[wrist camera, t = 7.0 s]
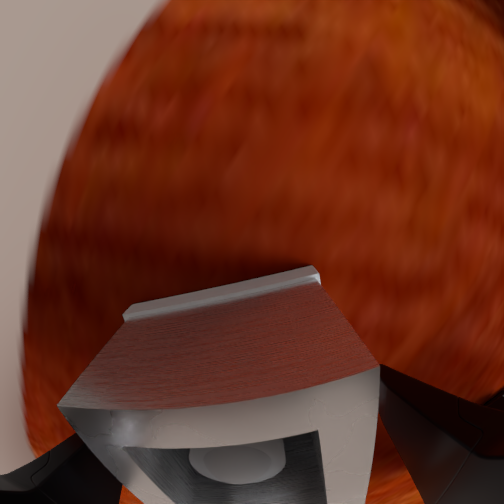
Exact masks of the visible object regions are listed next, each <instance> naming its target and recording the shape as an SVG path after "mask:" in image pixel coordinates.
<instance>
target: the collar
mask: <svg viewBox="0 0 504 504" xmlns="http://www.w3.org/2000/svg"><path fill="white" fill-rule="evenodd" d="M379 384H380V365H379V364H378V362H377V361H376V360H375V358H374V357H373V355H372V354H371V353H370V351H369V350H368V348H367V347H366V346H365V344H364V343H363V341H362V340H361V339H360V337H359V336H358V335H357V333H356V332H355V330H354V329H353V328H352V326H351V325H350V324H349V322H348V321H347V319H346V318H345V317H344V315H343V314H342V313H341V311H340V310H339V309H338V307H337V306H336V305H335V303H334V302H333V301H332V299H331V298H330V297H329V295H328V294H327V293H326V291H325V290H324V289H323V287H322V286H321V285H320V283H319V282H318V281H317V279H316V278H312V279H308V280H304V281H300V282H296V283H292V284H288V285H283V286H279V287H275V288H271V289H266V290H262V291H257V292H253V293H249V294H244V295H239V296H235V297H230V298H225V299H221V300H216V301H211V302H206V303H201V304H196V305H191V306H186V307H181V308H176V309H171V310H165V311H160V312H155V313H149V314H144V315H138V316H132V317H129V318H128V319H127V320H126V321H125V322H124V324H123V325H122V326H121V327H120V328H119V329H118V331H117V332H116V333H115V334H114V335H113V336H112V338H111V339H110V340H109V341H108V342H107V344H106V345H105V346H104V347H103V348H102V350H101V351H100V352H99V353H98V354H97V356H96V357H95V358H94V359H93V360H92V362H91V363H90V364H89V365H88V367H87V368H86V369H85V370H84V372H83V373H82V374H81V375H80V376H79V378H78V379H77V380H76V382H75V383H74V384H73V385H72V387H71V388H70V389H69V390H68V392H67V393H66V394H65V396H64V397H63V398H62V399H61V401H60V402H59V403H58V405H57V407H58V408H59V410H60V411H61V412H62V414H63V415H64V417H65V418H66V419H67V421H68V422H69V424H70V425H71V426H72V428H73V429H74V430H75V431H76V433H77V434H78V435H79V437H80V438H81V439H82V440H83V442H84V443H85V444H86V445H87V446H88V448H89V449H90V450H91V451H92V452H93V453H94V455H95V456H96V457H97V458H98V459H99V460H100V461H101V462H102V463H103V465H104V466H105V467H106V468H107V469H108V470H109V471H110V472H111V473H112V474H113V475H114V476H115V477H116V478H117V479H118V480H119V481H120V482H121V483H122V484H123V485H124V486H125V487H126V488H127V489H128V490H130V491H131V492H132V493H133V494H134V495H135V496H136V497H137V498H138V499H140V500H141V501H142V502H143V503H144V504H364V503H365V499H366V494H367V489H368V484H369V479H370V473H371V467H372V460H373V453H374V446H375V437H376V428H377V417H378V403H379ZM279 438H283V442H284V449H285V456H286V463H285V466H284V468H283V469H282V470H281V471H280V472H279V473H278V474H276V475H275V476H273V477H271V478H269V479H266V480H263V481H260V482H255V483H247V484H230V483H225V482H220V481H216V480H213V479H210V478H208V477H206V476H204V475H202V474H200V473H199V472H198V471H196V470H195V469H194V468H193V466H192V465H191V463H190V461H189V454H190V448H206V447H220V446H231V445H240V444H248V443H255V442H262V441H268V440H274V439H279Z"/></svg>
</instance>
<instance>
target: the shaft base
mask: <svg viewBox="0 0 504 504" xmlns="http://www.w3.org/2000/svg"><path fill="white" fill-rule="evenodd" d="M312 278H316V279H317V281H318V282H319V283H320V285H321V282H320V276H319V273H318V271H317V270H316V269H315V268H314V267H313V266H312V265H311V266H307V267H302V268H298V269H294V270H290V271H286V272H281V273H277V274H273V275H268V276H264V277H260V278H255V279H251V280H246V281H242V282H237V283H233V284H228V285H224V286H219V287H214V288H210V289H205V290H200V291H196V292H191V293H186V294H181V295H176V296H172V297H167V298H162V299H157V300H152V301H147V302H141V303H136V304H132V305H131V306H130V307H129V308H128V309H127V310H126V311H125V312H124V313H123V314H122V315H123V318H124V320H125V321H126V320H127V319H128V318H129V317H132V316H138V315H144V314H149V313H155V312H160V311H165V310H171V309H176V308H181V307H186V306H191V305H196V304H201V303H206V302H211V301H216V300H221V299H225V298H230V297H235V296H239V295H244V294H249V293H253V292H257V291H262V290H266V289H271V288H275V287H279V286H283V285H288V284H292V283H296V282H300V281H304V280H308V279H312ZM189 461H190V463H191V465H192V466H193V468H194V469H195V470H196V471H198V472H199V473H200V474H202V475H204V476H206V477H208V478H210V479H213V480H216V481H220V482H225V483H230V484H247V483H255V482H260V481H263V480H266V479H269V478H271V477H273V476H275V475H276V474H278V473H279V472H280V471H281V470H282V469H283V468H284V466H285V463H286V456H285V449H284V442H283V438H279V439H274V440H268V441H262V442H255V443H248V444H240V445H231V446H220V447H206V448H190V454H189Z"/></svg>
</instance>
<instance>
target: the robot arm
mask: <svg viewBox="0 0 504 504" xmlns="http://www.w3.org/2000/svg"><path fill="white" fill-rule="evenodd" d="M379 365H380V384H379V403H378V411H379V414H380V416H381V419H382V421H383V424H384V426H385V428H386V430H387V432H388V434H389V435H390V437H391V439H392V441H393V443H394V445H395V447H396V448H397V450H398V452H399V454H400V456H401V458H402V460H403V462H404V464H405V466H406V467H407V469H408V471H409V473H410V475H411V477H412V479H413V481H414V483H415V485H416V487H417V489H418V491H419V493H420V495H421V497H422V499H423V501H424V503H425V504H504V391H502V392H501V393H500V394H499V395H497V396H496V397H495V398H493V399H492V400H490V401H489V402H488V403H486V404H485V405H483V406H482V405H479V404H476V403H473V402H471V401H468V400H465V399H463V398H460V397H459V398H458V397H457V396H455V395H452V394H450V393H448V392H445V391H443V390H440V389H438V388H436V387H433V386H431V385H428V384H426V383H424V382H421V381H419V380H417V379H415V378H412V377H410V376H408V375H405V374H403V373H401V372H399V371H396V370H394V369H392V368H390V367H388V366H385V365H383V364H379ZM122 485H123V484H122V483H121V482H120V481H119V480H118V479H117V478H116V477H115V476H114V475H113V474H112V473H111V472H110V471H109V470H108V469H107V468H106V467H105V466H104V465H103V463H102V462H101V461H100V460H99V459H98V458H97V457H96V456H95V455H94V453H93V452H92V451H91V450H90V449H89V448H88V446H87V445H86V444H85V443H84V442H83V440H82V439H81V438H80V437H79V435H78V434H77V433H75V434H73V435H72V436H70V437H69V438H67V439H66V440H65V441H63V442H62V443H60V444H59V445H57V446H56V447H54V448H53V449H51V451H48V452H46V453H45V454H43V455H42V456H40V457H39V458H37V459H35V460H33V461H32V462H30V463H28V464H26V465H24V466H22V467H20V468H18V469H16V470H14V471H12V472H10V473H8V474H4V475H0V504H119V500H120V495H121V490H122Z"/></svg>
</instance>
